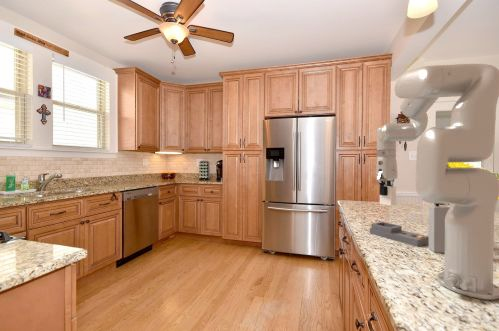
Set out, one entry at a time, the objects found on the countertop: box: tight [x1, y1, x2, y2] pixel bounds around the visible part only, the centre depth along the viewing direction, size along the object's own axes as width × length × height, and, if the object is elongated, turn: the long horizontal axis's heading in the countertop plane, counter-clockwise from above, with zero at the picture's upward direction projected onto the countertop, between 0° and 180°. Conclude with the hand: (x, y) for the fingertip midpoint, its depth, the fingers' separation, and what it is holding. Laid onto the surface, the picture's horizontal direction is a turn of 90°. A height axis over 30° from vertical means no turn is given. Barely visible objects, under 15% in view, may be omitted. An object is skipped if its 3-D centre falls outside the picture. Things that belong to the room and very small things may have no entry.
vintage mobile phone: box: [428, 203, 451, 254], centre depth 88 cm, size 4×5×25 cm
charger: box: [379, 185, 397, 206], centre depth 107 cm, size 4×5×8 cm
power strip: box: [369, 221, 429, 248], centre depth 104 cm, size 9×20×5 cm, turn 29°
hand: (386, 194), depth 107 cm, fingers closed on charger, 4 cm apart
